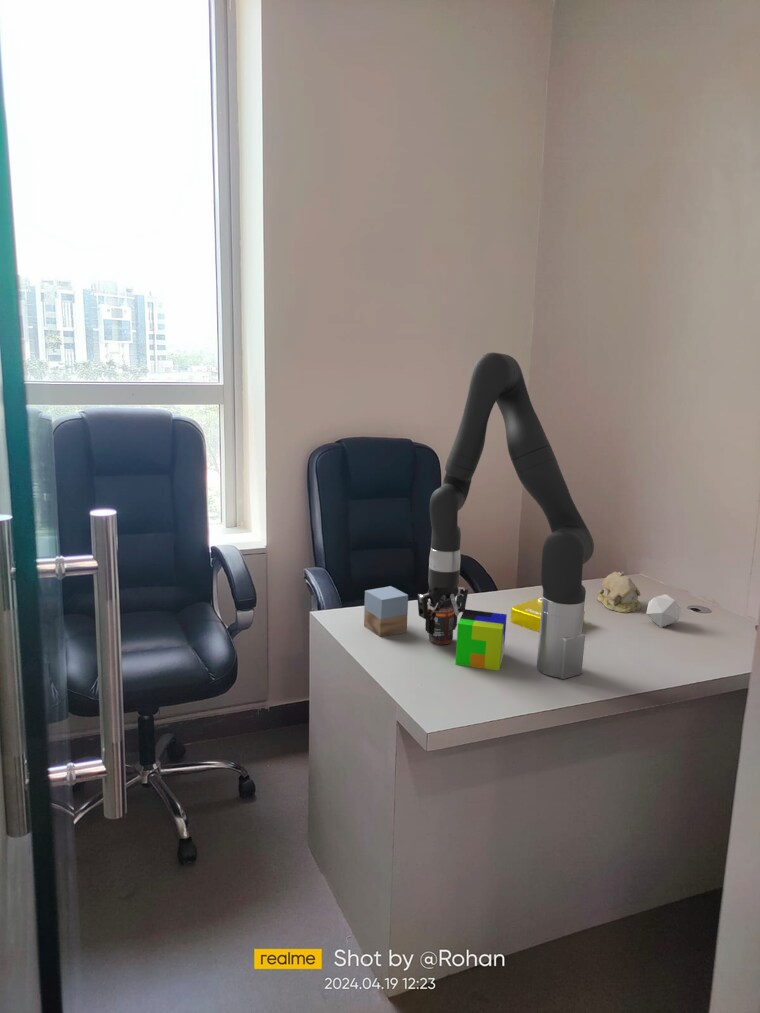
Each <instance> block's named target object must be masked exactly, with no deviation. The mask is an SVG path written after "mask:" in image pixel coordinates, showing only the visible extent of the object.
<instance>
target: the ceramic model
mask: <svg viewBox="0 0 760 1013" xmlns="http://www.w3.org/2000/svg"><path fill="white" fill-rule="evenodd" d="M601 586H602V587H603V589H600V590H598V593H597V600H598V601H599V602H600V603H602V604H603V605H604V607H605V608H606V609H609V610H611V611H613V612H614V611H615V612H619V613H624V614H625V613H631V611H632V612H636V611H635V610H638V611H640V610H641V608H642V603H641V601H639V597H640V596H641V595H642V594H641V592H640V589H639V588H638V587H637V586H636V584H635V583H634V582H633V581H632V579H631V577H629V576H627V575H625V571H619V572H618V571H612V573H610V574H608V575H607V576H606V577H605V578H604V579H603V580H602V584H601ZM639 609H640V610H639Z"/></svg>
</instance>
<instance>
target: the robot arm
mask: <svg viewBox="0 0 760 1013" xmlns="http://www.w3.org/2000/svg"><path fill="white" fill-rule="evenodd" d="M530 398H531V397H530V395H529V392H528V388H527V385H526V382H525V378H524V374H523V371H522V369H521V366H520V364H519V363H518V361H517V360H516V359H515V358H514V357H513V356H510V355H509V354H504V353H500V352H488V353H485V354H483V355H482V356H480V357H479V358H478V359H477V360H476V362H475V364H474V366H473V368H472V373H471V378H470V381H469V388H468V392H467V398H466V401H465V405H464V409H463V413H462V417H461V421H460V424H459V427H458V430H457V433H456V436H455V439H454V441H453V444H452V446H451V449H450V451H449V454H448V457H447V460H446V462H445V465H444V466H445V468H444V470H445V475H444V477H443V481H442V483H441V486H440V487H438V488H437V489H435V490H433V492H432V494H431V496H430V499H429V516H430V517H429V518H430V519H429V520H430V525H431V539H430V540H431V543H430V552H429V558H428V564H429V565H428V576H427V577H428V581H427V582H428V590H427V593H424V594H422V593H418V594H417V607H418V609H417V610H418V616H419V617H420V618H422V619H424V620H425V625H424V627H425V628H424V629H425V632H426V633H427V634H428V635H429V634H430V635H432V634H434V623H435V620H434V618H435V616H436V613H437V612H439V610H440V608H441V605H442V603H443V602H444V600H445V599H448V598H449V599H450V605H452V607H453V608H454V621H453V631H455V630H456V628H457V627H458V616H459V614H460V613H463V612H464V610H465V609H466V606H467V599H468V595H469V594H468V593H469V590H468V588H466V587H463V586H459V585H460V573H461V539H462V538H461V537H462V536H461V535H462V534H461V529H460V526H459V525H458V520H459V519H458V517H459V515H458V514H459V511H460V510H462V508H463V507H464V506H465V504H466V501H467V499H468V496H469V492H470V489H471V485H472V478H473V476H474V474H475V472H476V470H477V467H478V465H479V462H480V459H481V457H482V454H483V451H484V447H485V442H486V436H487V429H488V423H489V419H490V416H491V412H492V411H493V408H494V406H495V404H497V407H498V409H499V410H500V413H501V415H502V418H503V422H504V428H505V436H506V437H505V438H506V445H507V452H508V455H509V457H510V460H511V463H512V465H513V469H514V470H515V472H516V475H517V477H518V480H519V482H520V483H521V485H522V486H523V488H524V489H525V490H526V491H527V492H528V494H529V495H530V496H531V497H532V498H533V500H534V501H535V502H536V503H537V504H538V506H539V507H540V508H541V510H542V512H543V513H544V516H545V517H546V521H547V523H548V526H549V528H550V531H551V533H550V534H549V535H547V537H546V538H545V541H544V542H543V546H542V551H541V565H540V566H541V568H540V584H541V587H542V597H543V598H542V610H541V622H540V633H539V636H538V637H539V638H538V647H537V650H538V651H537V658H536V659H537V664H536V668H537V669H538V671H539V672H540V673H543V674H544V675H547V676H550V677H553V678H559V679H561V680H564V679H569V678H572V677H573V678H574V677H576V676H580V675H582V674H583V673H582V672H583V665H584V664H583V662H584V653H585V652H584V650H585V642H586V635H585V634H584V633H583V626H584V624H583V615H584V616H585V613H584V611H585V603H586V594H587V593H586V587H585V586H584V585H583V567H584V564H586V563H587V562H588V561H590V559H591V558H592V556H593V554H594V550H595V544H594V540H593V539H594V538H593V536H592V534H591V532H590V530H589V529H588V526H587V525H586V523H585V521H584V520H583V518H582V515H581V514H580V512H579V511H578V508H577V506H576V504H575V502H574V500H573V498H572V496H571V492H570V490H569V488H568V485H567V483H566V481H565V478H564V475H563V472H562V470H561V468H560V466H559V462H558V460H557V458H556V455H555V453H554V450H553V448H552V446H551V444H550V442H549V439H548V437H547V435H546V432H545V430H544V427H543V426H542V423H541V421H540V419H539V417H538V415H537V413H536V411H535V409H534V407H533V404H532V402H531V399H530ZM433 604H434V605H435V608H434V607H433ZM431 610H432V613H431ZM430 614H431V615H430Z"/></svg>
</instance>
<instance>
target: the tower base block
mask: <svg viewBox="0 0 760 1013" xmlns="http://www.w3.org/2000/svg"><path fill="white" fill-rule="evenodd" d="M363 610H364V611H363V612H364V615H363V617H364V618H363V627H364V628H366V629H367V630H369V631H371V633H373V634H374V635H376V636H378V637H379V638H383V637H386V636H391V635H397V634H401V633H407V630H408V614H404V615H399V616H394V617H389V618H384V619H380V618H378V617H377V616H375V615H373V614H372V613H370V612H368V611H367V610H365V609H363Z"/></svg>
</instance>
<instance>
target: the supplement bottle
mask: <svg viewBox="0 0 760 1013" xmlns="http://www.w3.org/2000/svg"><path fill="white" fill-rule="evenodd" d="M433 607H434V608H435V605H434V604H433ZM431 613H432V610H431ZM430 615H431V614H430ZM434 620H435V623H434V634H432V635H430V634H429V633H428V641H430V642H431V643H432V644H435V645H448V644H451V643H452V642H453V639H454V630H453V621H454V608H453V607H452V605H450V599H449V598H448V599H445V600H444V602H443V603H442V605H441V608H440V610H439V612H437V613H436V616H435V618H434Z"/></svg>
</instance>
